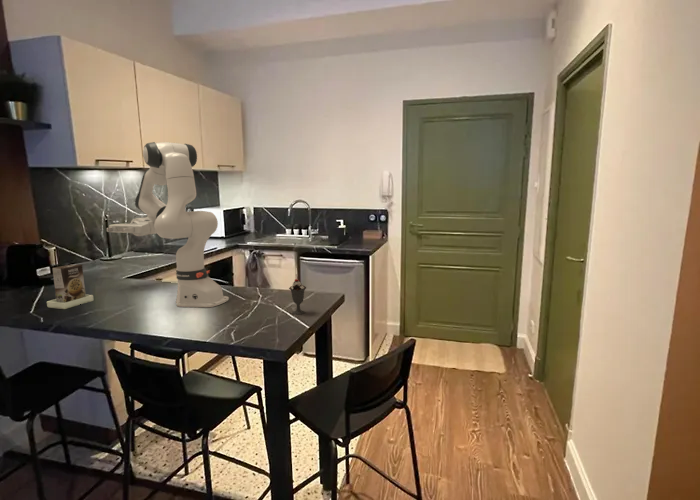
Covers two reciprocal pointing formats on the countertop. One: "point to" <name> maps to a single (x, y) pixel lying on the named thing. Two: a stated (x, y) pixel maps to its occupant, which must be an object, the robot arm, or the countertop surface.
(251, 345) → the countertop surface
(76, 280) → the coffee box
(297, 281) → the sundae
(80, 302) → the tray
